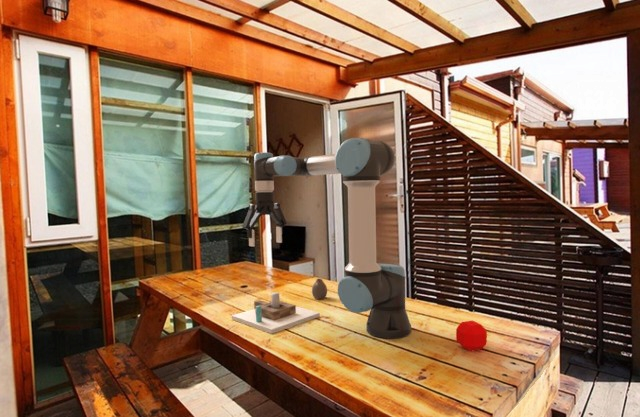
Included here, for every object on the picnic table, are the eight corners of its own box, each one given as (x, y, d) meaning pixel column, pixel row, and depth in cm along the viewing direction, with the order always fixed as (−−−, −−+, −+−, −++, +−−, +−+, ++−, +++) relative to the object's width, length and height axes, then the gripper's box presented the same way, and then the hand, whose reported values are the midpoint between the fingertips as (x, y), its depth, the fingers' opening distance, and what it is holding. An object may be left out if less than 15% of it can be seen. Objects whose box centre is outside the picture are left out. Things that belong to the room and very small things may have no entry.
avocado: (325, 300, 175) (325, 281, 175) (310, 300, 176) (310, 280, 176) (328, 296, 182) (328, 277, 181) (313, 296, 183) (313, 277, 183)
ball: (491, 351, 117) (491, 325, 117) (468, 354, 115) (468, 329, 115) (473, 341, 125) (473, 317, 125) (452, 344, 123) (452, 320, 122)
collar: (295, 313, 153) (295, 305, 153) (273, 320, 145) (273, 312, 145) (267, 304, 165) (267, 297, 165) (245, 311, 157) (245, 303, 157)
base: (319, 316, 153) (319, 292, 153) (271, 333, 136) (270, 306, 135) (279, 305, 169) (278, 283, 169) (231, 319, 152) (231, 295, 152)
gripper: (282, 191, 169) (284, 240, 170) (232, 192, 152) (234, 247, 153) (294, 191, 164) (295, 241, 165) (243, 192, 147) (245, 248, 148)
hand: (265, 244), depth 159 cm, fingers open, 13 cm apart
